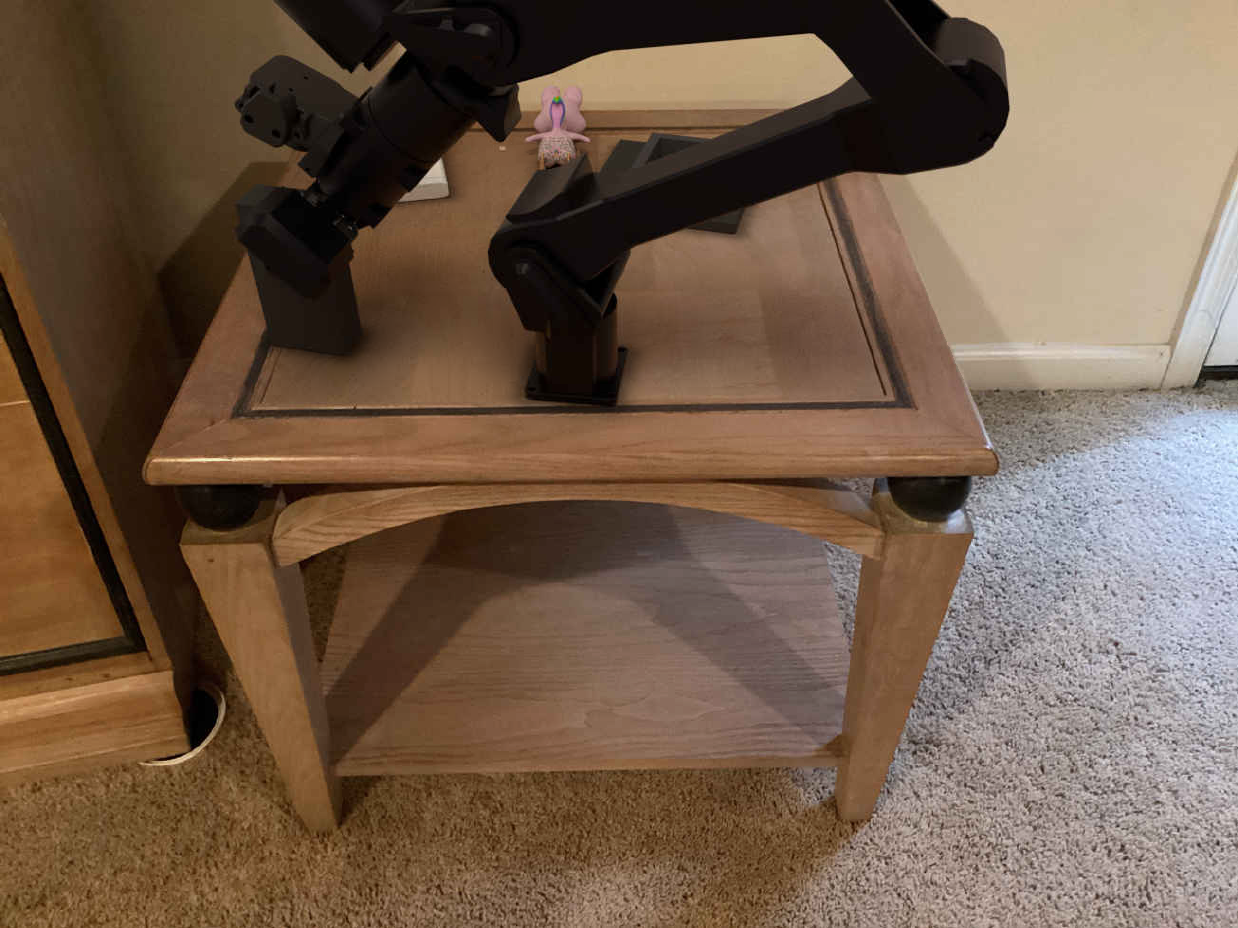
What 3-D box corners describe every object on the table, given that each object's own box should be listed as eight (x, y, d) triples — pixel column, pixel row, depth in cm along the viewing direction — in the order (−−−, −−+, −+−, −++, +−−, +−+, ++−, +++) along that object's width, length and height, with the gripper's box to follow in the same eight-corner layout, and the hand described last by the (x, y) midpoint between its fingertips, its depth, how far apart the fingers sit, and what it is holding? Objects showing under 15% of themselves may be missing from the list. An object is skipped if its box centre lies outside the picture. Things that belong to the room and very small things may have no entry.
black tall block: (289, 323, 81) (255, 183, 74) (363, 333, 80) (336, 192, 73) (271, 345, 79) (234, 203, 72) (346, 356, 78) (316, 213, 71)
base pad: (761, 165, 102) (764, 134, 100) (734, 234, 92) (737, 202, 90) (620, 148, 105) (620, 119, 103) (578, 214, 95) (577, 182, 93)
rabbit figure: (589, 189, 101) (594, 102, 111) (587, 134, 96) (593, 48, 106) (523, 189, 101) (534, 102, 111) (518, 133, 97) (530, 47, 106)
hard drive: (350, 133, 104) (354, 189, 95) (435, 125, 105) (447, 180, 96) (353, 149, 105) (358, 206, 96) (436, 141, 106) (449, 197, 97)
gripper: (368, -25, 71) (254, 121, 80) (227, 80, 57) (108, 242, 66) (491, 103, 74) (368, 228, 84) (386, 230, 61) (253, 363, 70)
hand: (282, 259), depth 76 cm, fingers closed on black tall block, 3 cm apart
